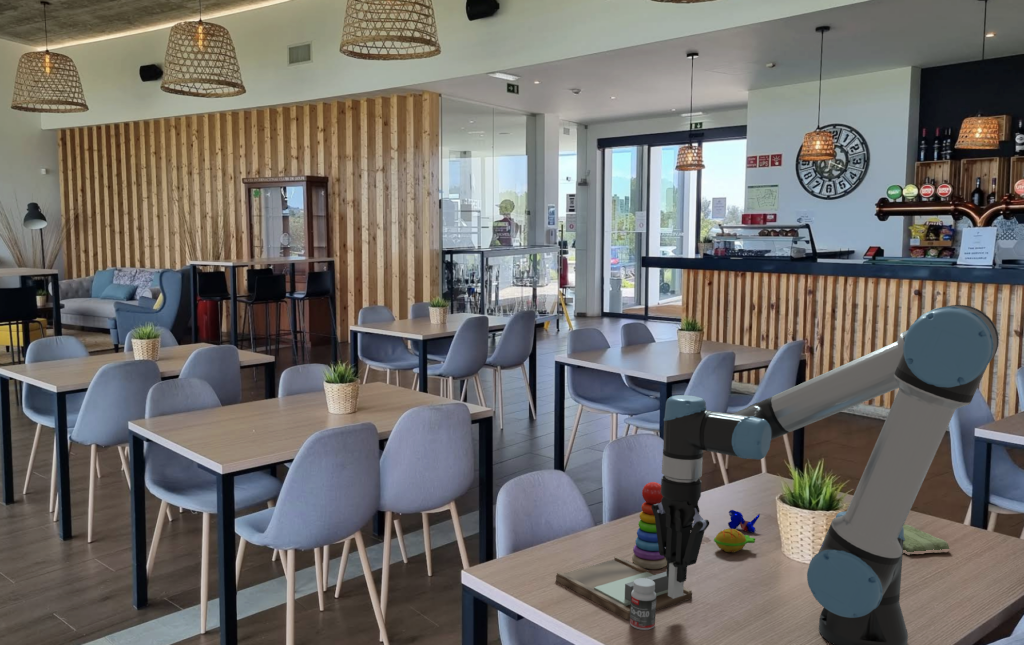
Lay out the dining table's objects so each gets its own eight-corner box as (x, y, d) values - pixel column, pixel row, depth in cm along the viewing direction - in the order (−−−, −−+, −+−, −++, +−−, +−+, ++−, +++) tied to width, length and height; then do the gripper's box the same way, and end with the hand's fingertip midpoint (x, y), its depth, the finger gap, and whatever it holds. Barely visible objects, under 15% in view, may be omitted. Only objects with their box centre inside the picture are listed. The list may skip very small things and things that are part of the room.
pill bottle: (626, 626, 154) (627, 583, 153) (634, 617, 158) (636, 575, 157) (650, 632, 151) (652, 589, 151) (658, 622, 156) (660, 580, 155)
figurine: (729, 525, 213) (730, 507, 212) (759, 530, 209) (760, 512, 209) (725, 530, 209) (726, 511, 208) (755, 536, 205) (756, 517, 205)
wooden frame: (691, 598, 167) (692, 590, 167) (627, 619, 156) (627, 611, 156) (618, 563, 185) (618, 556, 185) (555, 580, 174) (556, 573, 174)
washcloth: (903, 530, 213) (904, 518, 212) (953, 555, 195) (954, 542, 195) (858, 533, 210) (859, 521, 209) (905, 559, 193) (906, 545, 192)
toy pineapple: (707, 548, 196) (708, 526, 195) (742, 543, 199) (743, 522, 199) (724, 558, 189) (725, 536, 189) (760, 553, 193) (761, 531, 192)
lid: (678, 589, 168) (678, 572, 168) (624, 606, 159) (625, 588, 159) (646, 574, 175) (647, 558, 175) (593, 590, 166) (594, 573, 166)
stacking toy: (667, 572, 180) (670, 489, 179) (631, 568, 182) (633, 486, 180) (667, 559, 188) (671, 479, 186) (633, 555, 190) (635, 476, 188)
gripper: (721, 482, 153) (714, 603, 155) (670, 466, 163) (664, 579, 166) (694, 488, 148) (687, 613, 151) (643, 471, 159) (637, 587, 161)
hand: (675, 595), depth 158 cm, fingers closed
